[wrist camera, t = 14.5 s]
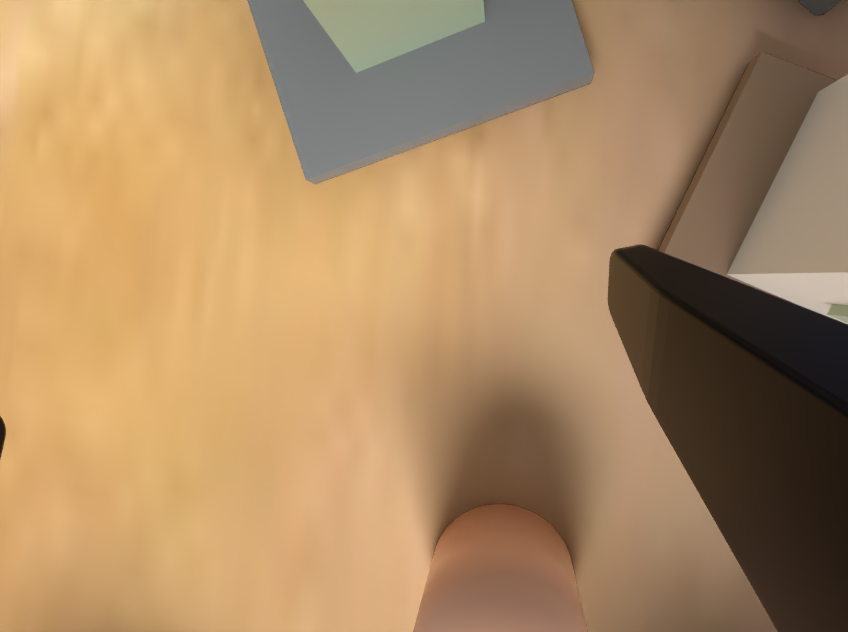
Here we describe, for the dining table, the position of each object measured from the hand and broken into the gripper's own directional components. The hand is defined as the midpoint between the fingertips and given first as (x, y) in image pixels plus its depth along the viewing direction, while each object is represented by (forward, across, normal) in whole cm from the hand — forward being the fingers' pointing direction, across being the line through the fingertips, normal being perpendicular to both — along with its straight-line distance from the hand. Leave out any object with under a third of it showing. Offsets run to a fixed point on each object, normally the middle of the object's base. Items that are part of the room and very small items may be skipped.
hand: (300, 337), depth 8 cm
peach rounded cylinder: (+4, -3, +15) cm, 16 cm away
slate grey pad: (+16, -3, -1) cm, 16 cm away
